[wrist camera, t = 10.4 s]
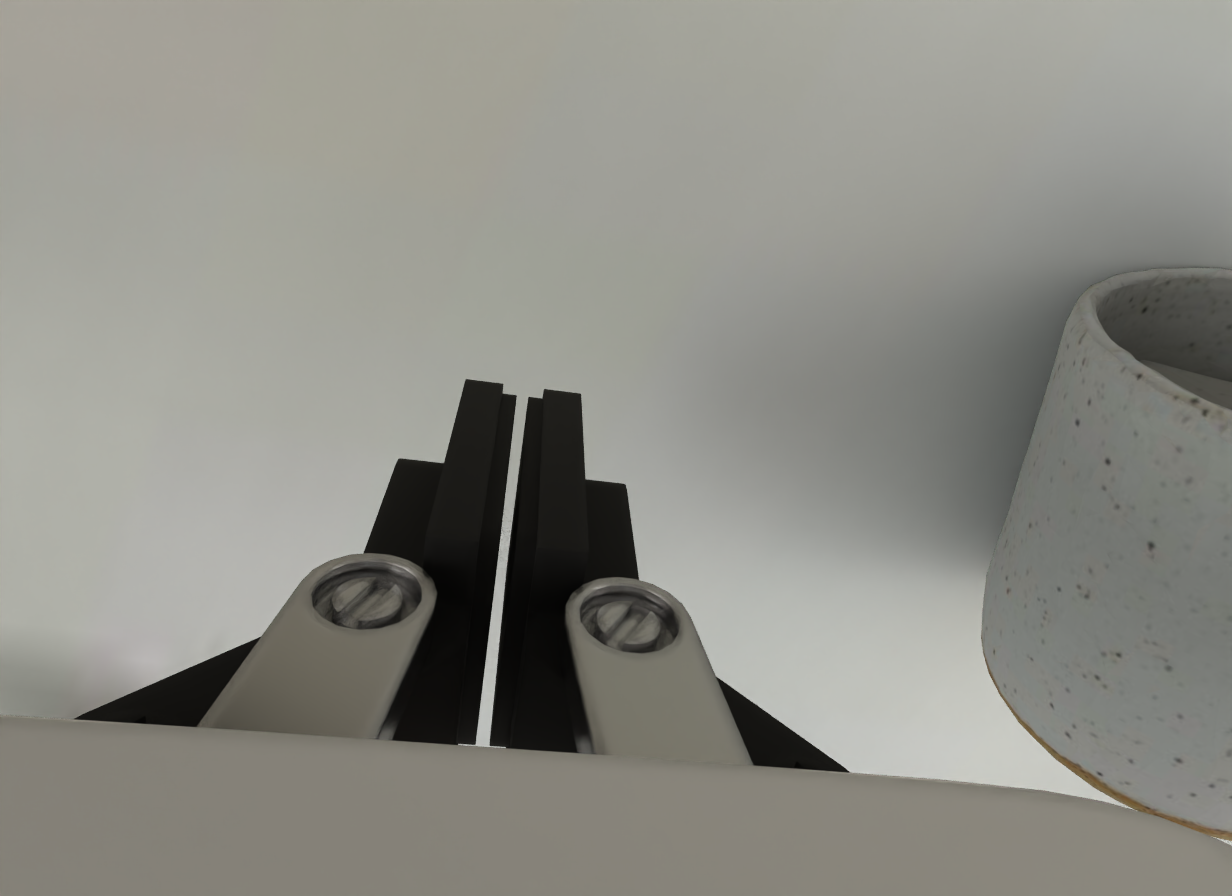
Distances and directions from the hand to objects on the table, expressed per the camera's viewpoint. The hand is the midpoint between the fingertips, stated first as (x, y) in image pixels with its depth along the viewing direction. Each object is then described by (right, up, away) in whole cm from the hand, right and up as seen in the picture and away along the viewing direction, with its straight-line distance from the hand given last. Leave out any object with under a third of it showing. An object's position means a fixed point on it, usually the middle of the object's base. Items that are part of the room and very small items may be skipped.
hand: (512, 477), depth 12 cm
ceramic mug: (+14, +1, +6) cm, 15 cm away
